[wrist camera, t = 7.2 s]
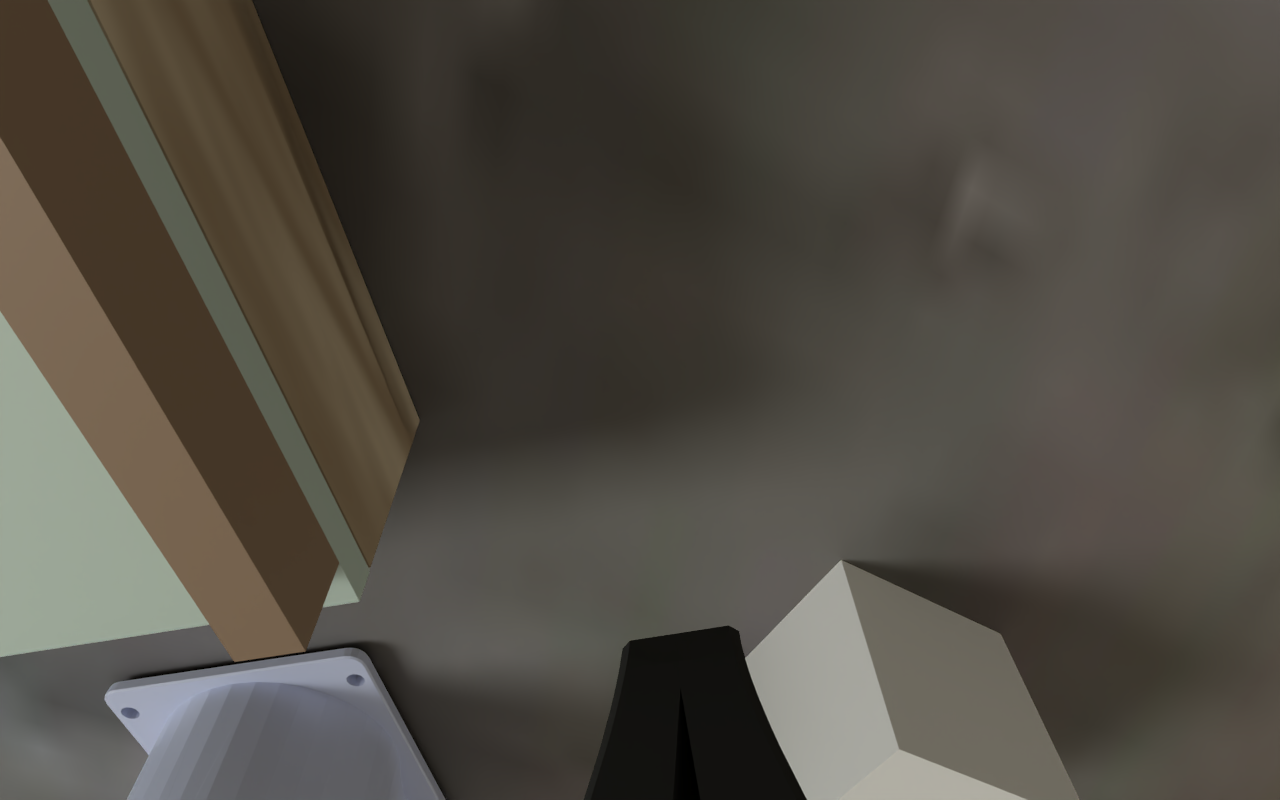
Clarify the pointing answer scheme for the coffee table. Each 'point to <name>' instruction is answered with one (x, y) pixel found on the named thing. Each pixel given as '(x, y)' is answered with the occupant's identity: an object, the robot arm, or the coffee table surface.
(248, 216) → the storage box
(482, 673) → the coffee table surface
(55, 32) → the lid
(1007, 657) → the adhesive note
